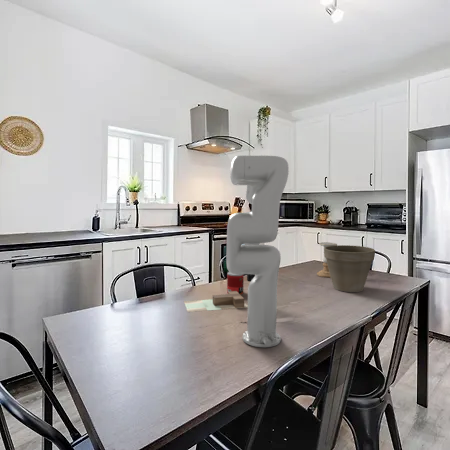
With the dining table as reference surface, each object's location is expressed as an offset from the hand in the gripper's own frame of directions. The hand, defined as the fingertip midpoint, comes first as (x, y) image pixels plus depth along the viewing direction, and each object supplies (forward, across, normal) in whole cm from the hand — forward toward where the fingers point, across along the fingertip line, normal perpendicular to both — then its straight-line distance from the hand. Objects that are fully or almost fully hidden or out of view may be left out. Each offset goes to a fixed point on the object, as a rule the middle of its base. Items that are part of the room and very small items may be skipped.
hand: (251, 280), depth 141 cm
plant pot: (+11, +12, -58) cm, 60 cm away
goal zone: (+10, -1, +22) cm, 24 cm away
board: (+10, -1, +16) cm, 19 cm away
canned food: (+11, +14, +3) cm, 18 cm away
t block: (+9, -1, +11) cm, 15 cm away
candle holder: (+12, +41, -64) cm, 77 cm away
